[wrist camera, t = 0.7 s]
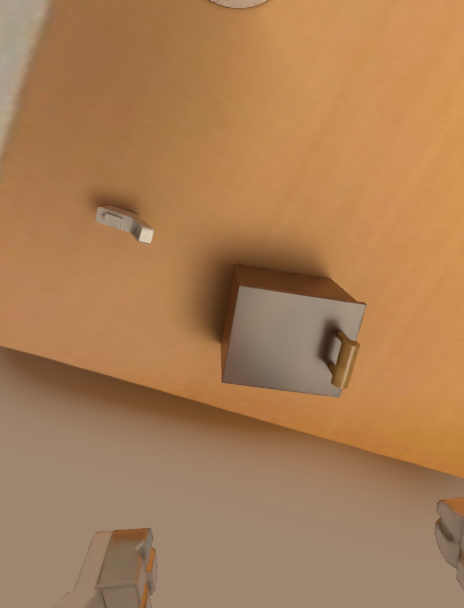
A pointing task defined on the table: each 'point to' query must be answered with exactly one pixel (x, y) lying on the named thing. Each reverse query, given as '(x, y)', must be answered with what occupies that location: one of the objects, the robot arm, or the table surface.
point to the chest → (275, 281)
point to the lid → (292, 341)
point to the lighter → (125, 222)
